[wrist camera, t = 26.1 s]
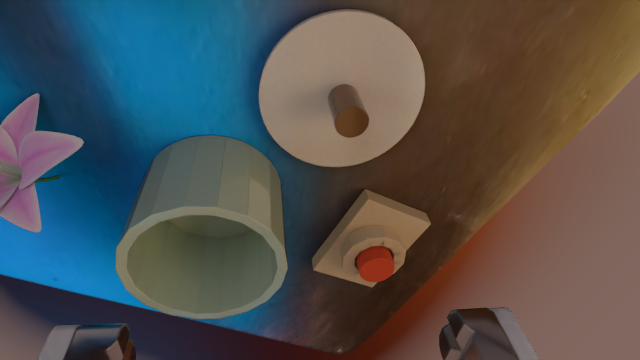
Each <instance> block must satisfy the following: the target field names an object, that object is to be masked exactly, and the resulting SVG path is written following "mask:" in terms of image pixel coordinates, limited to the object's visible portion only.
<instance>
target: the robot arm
mask: <svg viewBox="0 0 640 360" xmlns="http://www.w3.org/2000/svg"><path fill="white" fill-rule="evenodd" d="M447 318H448V321H449V324H447V325H446V326H444V327H443V328H442V330H441V333H440V335H439V346H440V351H441V355H442V357H443V360H540V359H539V358H538V356H537V354H536V353H535V351H534V349H533V348H532V346H531V344H530V343H529V340H528V339H527V337H526V335H525V334H524V332H523V330H522V329H521V327H520V325H519V323H518V322H517V320H516V318H515V316H514V315H513V313H512V311H510V310H509V309H508V308H504V307H500V308H474V309H457V310H453V311H451V312H450V313H449V315H448V317H447ZM129 334H130V330H129V327H128V324H104V325H103V324H102V325H68V326H56V327H55V328H54V329H53V330H52V331H51V333H50V334H49V336H48V338H47V340H46V342H45V344H44V347H43V349H42V351H41V353H40V355H39V357H38V359H37V360H136V353H135V346H134V343H133V342H132V341H130V340H129V339H128V338H129Z"/></svg>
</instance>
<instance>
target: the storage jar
mask: <svg viewBox="0 0 640 360" xmlns="http://www.w3.org/2000/svg"><path fill="white" fill-rule="evenodd" d="M287 269H288V264H287V250H286V235H285V221H284V206H283V194H282V186H281V180H280V178H279V175H278V173H277V171H276V169H275V167H274V166H273V164H272V163H271V162H270V160H269V159H268V158H267V157H266V156H265V155H264V154H262V153H261V152H260V151H258V150H257V149H255V148H254V147H252V146H250V145H249V144H246V143H244V142H242V141H239V140H236V139H233V138H229V137H224V136H215V135H202V136H195V137H190V138H186V139H183V140H180V141H177V142H175V143H173V144H171V145H169V146H168V147H166V148H165V149H164V150H162V151H161V152H160V153H159V154H158V155H157V156H156V157H155V158H154V159H153V161H152V162H151V164H150V166H149V168H148V170H147V171H146V173H145V175H144V177H143V180H142V182H141V185H140V188H139V190H138V193H137V195H136V198H135V201H134V203H133V206H132V208H131V211H130V214H129V216H128V219H127V221H126V224H125V227H124V229H123V232H122V235H121V237H120V240H119V242H118V245H117V248H116V272H117V274H118V276H119V277H120V279H121V281H122V283H123V285H124V287H125V288H126V290H127V291H129V292H130V293H131V294H132V295H134V296H135V297H136V298H137V299H138V300H140V301H141V302H142V303H143V304H145V305H147V306H149V307H152V308H154V309H156V310H159V311H161V312H164V313H166V314H169V315H175V316H181V317H186V318H192V319H217V318H224V317H228V316H232V315H236V314H240V313H244V312H247V311H249V310H251V309H253V308H255V307H257V306H259V305H260V304H262V303H264V302H266V301H268V300H269V299H270V297H271V296H272V295H273V294H274V293H275V292H276V291H277V290H278V289H279V288H280V287H281V285H282V283H283V280H284V277H285V275H286V272H287Z"/></svg>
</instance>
